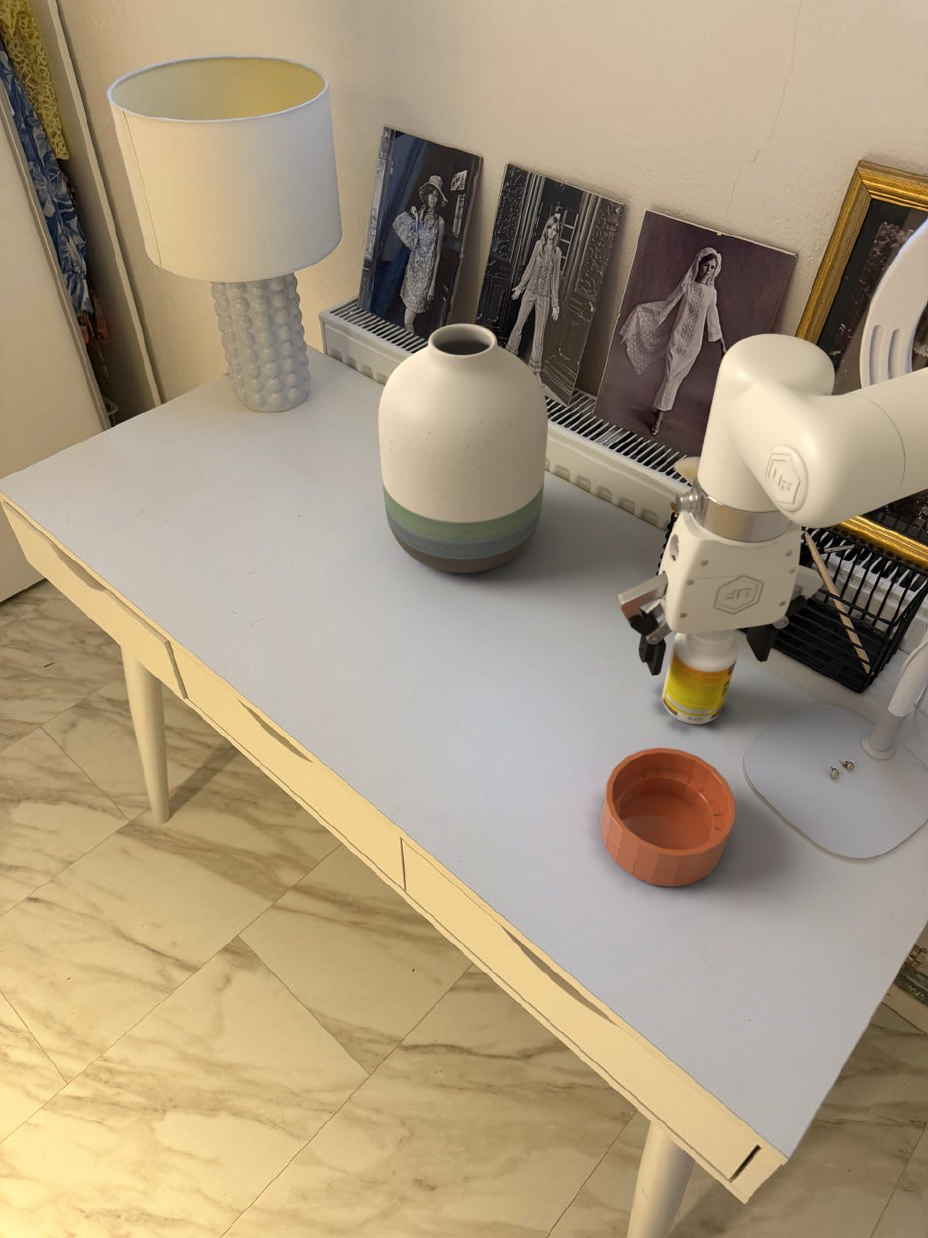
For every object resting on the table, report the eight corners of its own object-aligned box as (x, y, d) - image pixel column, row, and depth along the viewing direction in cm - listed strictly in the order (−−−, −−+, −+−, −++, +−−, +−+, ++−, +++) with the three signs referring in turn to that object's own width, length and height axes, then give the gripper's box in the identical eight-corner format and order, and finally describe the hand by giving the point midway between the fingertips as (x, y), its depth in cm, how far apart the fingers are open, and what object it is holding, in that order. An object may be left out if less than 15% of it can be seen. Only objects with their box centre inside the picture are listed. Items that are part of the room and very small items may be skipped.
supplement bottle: (722, 730, 84) (746, 653, 77) (660, 723, 85) (678, 646, 78) (720, 684, 88) (742, 607, 81) (660, 678, 89) (677, 600, 82)
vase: (551, 584, 98) (568, 381, 81) (390, 595, 97) (374, 392, 80) (527, 487, 110) (538, 293, 93) (384, 496, 109) (369, 301, 92)
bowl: (741, 879, 74) (755, 845, 70) (619, 897, 73) (626, 864, 69) (698, 776, 81) (709, 740, 77) (586, 791, 80) (592, 756, 76)
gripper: (647, 545, 66) (620, 701, 78) (875, 520, 68) (814, 676, 80) (618, 483, 72) (597, 638, 84) (830, 461, 74) (779, 616, 86)
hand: (703, 657), depth 82 cm, fingers open, 9 cm apart
